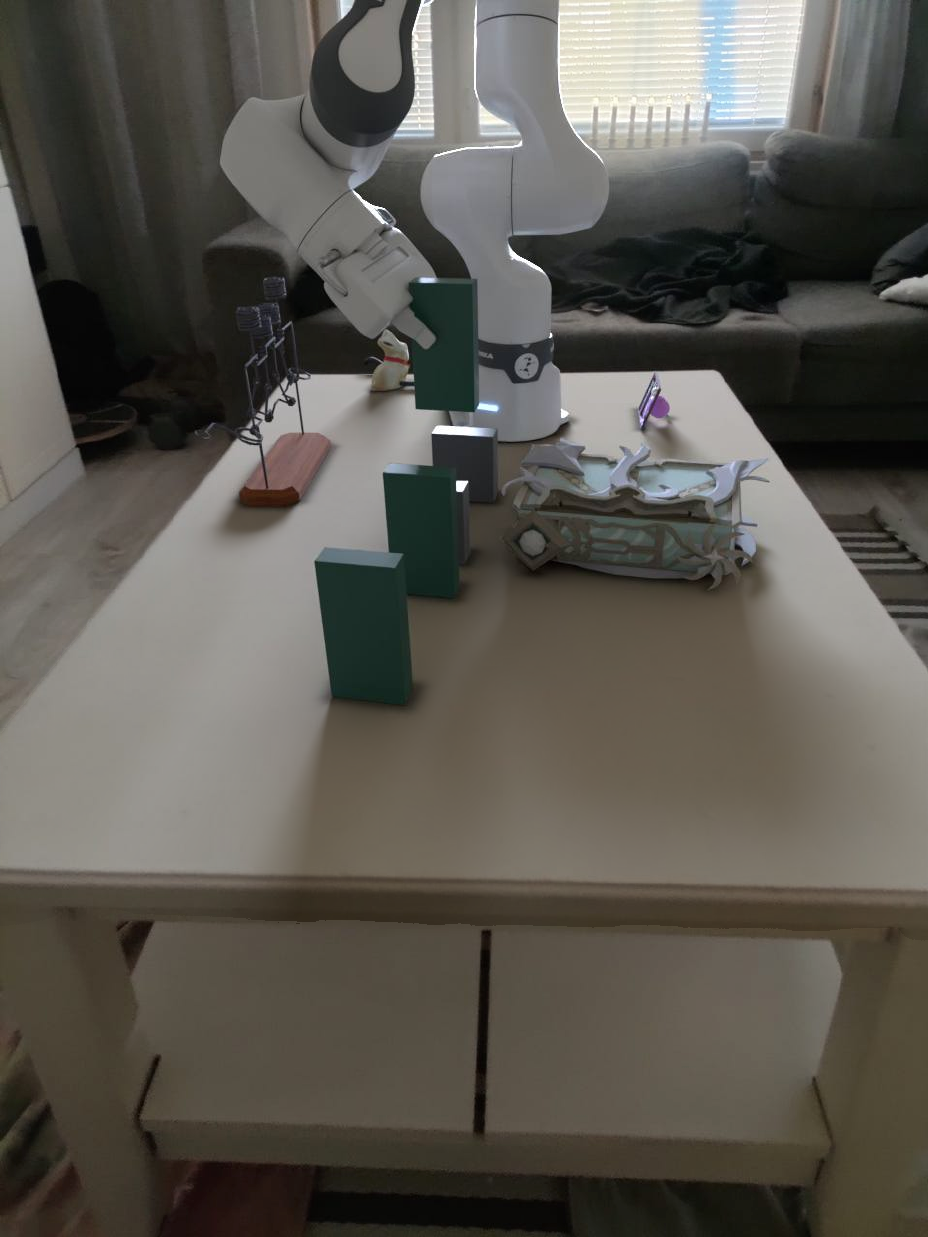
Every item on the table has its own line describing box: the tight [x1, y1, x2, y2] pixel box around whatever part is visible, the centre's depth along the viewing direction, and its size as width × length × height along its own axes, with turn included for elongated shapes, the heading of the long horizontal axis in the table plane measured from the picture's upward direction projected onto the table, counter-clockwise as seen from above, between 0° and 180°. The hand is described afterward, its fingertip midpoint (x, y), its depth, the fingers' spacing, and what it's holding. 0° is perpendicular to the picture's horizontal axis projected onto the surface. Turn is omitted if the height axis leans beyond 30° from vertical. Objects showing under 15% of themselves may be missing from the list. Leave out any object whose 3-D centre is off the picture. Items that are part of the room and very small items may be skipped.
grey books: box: [430, 425, 499, 565], centre depth 108 cm, size 20×8×9 cm, turn 167°
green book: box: [409, 277, 479, 412], centre depth 99 cm, size 3×7×14 cm, turn 77°
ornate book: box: [499, 437, 771, 591], centre depth 103 cm, size 23×10×30 cm
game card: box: [637, 371, 671, 430], centre depth 139 cm, size 7×5×9 cm
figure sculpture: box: [194, 276, 331, 507], centre depth 117 cm, size 35×9×25 cm, turn 175°
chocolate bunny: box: [370, 329, 411, 392], centre depth 156 cm, size 6×8×10 cm
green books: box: [313, 462, 461, 706], centre depth 85 cm, size 22×7×14 cm, turn 167°
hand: (437, 338), depth 98 cm, fingers closed on green book, 2 cm apart
